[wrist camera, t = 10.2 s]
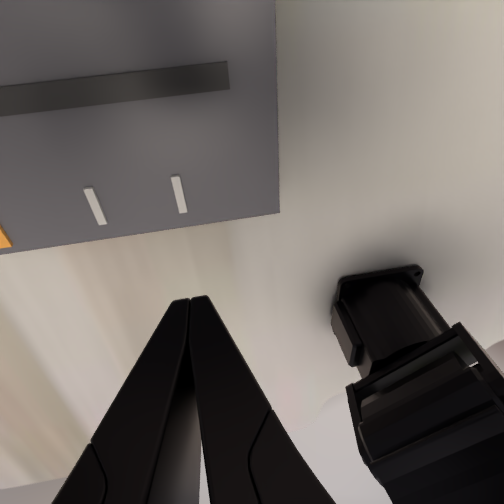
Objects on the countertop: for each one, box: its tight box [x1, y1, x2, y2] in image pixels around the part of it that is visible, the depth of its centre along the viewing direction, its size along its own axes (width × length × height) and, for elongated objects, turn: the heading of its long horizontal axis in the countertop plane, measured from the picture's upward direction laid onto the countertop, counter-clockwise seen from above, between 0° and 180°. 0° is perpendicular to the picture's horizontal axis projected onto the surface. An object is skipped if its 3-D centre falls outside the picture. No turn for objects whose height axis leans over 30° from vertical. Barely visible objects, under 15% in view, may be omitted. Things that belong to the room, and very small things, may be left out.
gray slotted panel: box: [0, 0, 280, 255], centre depth 14 cm, size 22×14×2 cm, turn 94°
